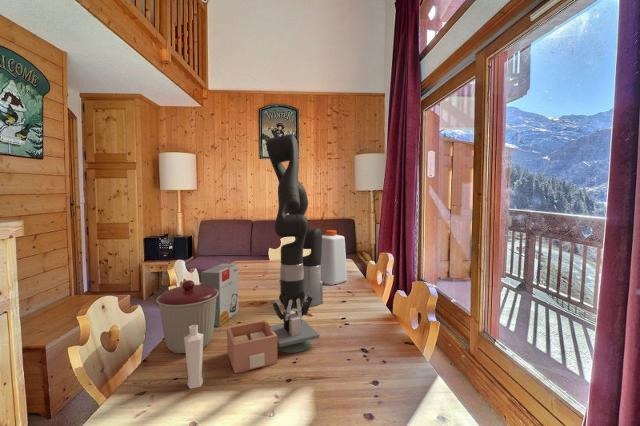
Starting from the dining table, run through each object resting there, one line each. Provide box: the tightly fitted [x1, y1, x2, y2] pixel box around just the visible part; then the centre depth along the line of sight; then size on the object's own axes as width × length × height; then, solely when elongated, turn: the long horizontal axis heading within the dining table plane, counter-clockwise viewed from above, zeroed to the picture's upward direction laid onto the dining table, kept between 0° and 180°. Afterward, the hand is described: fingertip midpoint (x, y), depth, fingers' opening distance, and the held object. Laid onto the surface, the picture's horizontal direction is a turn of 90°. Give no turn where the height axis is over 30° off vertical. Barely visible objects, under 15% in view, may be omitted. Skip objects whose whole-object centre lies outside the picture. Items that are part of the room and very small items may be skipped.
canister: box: [155, 279, 219, 355], centre depth 97 cm, size 18×18×21 cm
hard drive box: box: [200, 263, 240, 327], centre depth 118 cm, size 16×8×20 cm, turn 168°
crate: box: [226, 319, 278, 374], centre depth 90 cm, size 12×13×8 cm
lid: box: [270, 310, 320, 347], centre depth 99 cm, size 13×13×7 cm
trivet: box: [277, 340, 312, 354], centre depth 99 cm, size 12×12×1 cm
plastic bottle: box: [321, 229, 348, 286], centre depth 168 cm, size 15×15×28 cm
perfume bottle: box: [184, 325, 204, 390], centre depth 77 cm, size 5×4×15 cm
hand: (292, 329), depth 99 cm, fingers closed on lid, 3 cm apart
